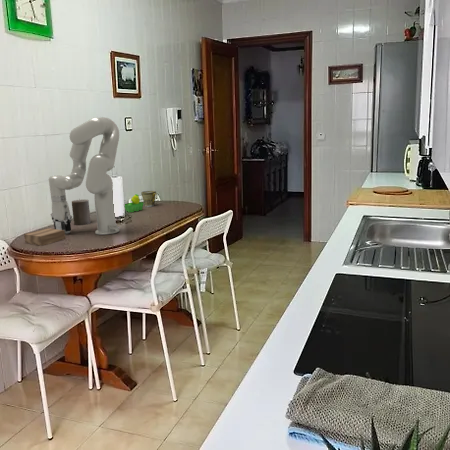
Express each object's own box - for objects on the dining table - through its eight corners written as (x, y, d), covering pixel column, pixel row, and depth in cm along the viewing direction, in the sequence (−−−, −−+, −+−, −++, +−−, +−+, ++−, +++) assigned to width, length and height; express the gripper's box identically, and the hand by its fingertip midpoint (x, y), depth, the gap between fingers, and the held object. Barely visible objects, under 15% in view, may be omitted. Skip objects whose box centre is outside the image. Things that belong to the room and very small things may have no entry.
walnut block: (65, 239, 254) (64, 230, 253) (42, 246, 243) (40, 236, 242) (49, 237, 263) (47, 228, 262) (25, 243, 252) (24, 234, 250)
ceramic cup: (139, 207, 337) (137, 192, 334) (149, 204, 344) (148, 190, 342) (152, 208, 329) (151, 193, 327) (163, 205, 337) (162, 191, 334)
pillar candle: (74, 226, 286) (71, 200, 283) (73, 223, 295) (70, 198, 292) (92, 224, 290) (89, 198, 286) (89, 221, 299) (87, 196, 295)
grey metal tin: (70, 232, 269) (68, 220, 267) (62, 235, 265) (60, 222, 263) (64, 232, 272) (62, 219, 270) (56, 234, 268) (55, 221, 266)
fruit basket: (137, 209, 329) (135, 192, 327) (146, 210, 323) (144, 193, 321) (123, 212, 321) (121, 195, 319) (132, 213, 315) (130, 195, 313)
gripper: (74, 198, 262) (78, 230, 266) (55, 197, 272) (59, 227, 276) (62, 201, 256) (66, 233, 260) (43, 199, 266) (47, 230, 270)
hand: (62, 230), depth 268 cm, fingers open, 9 cm apart
